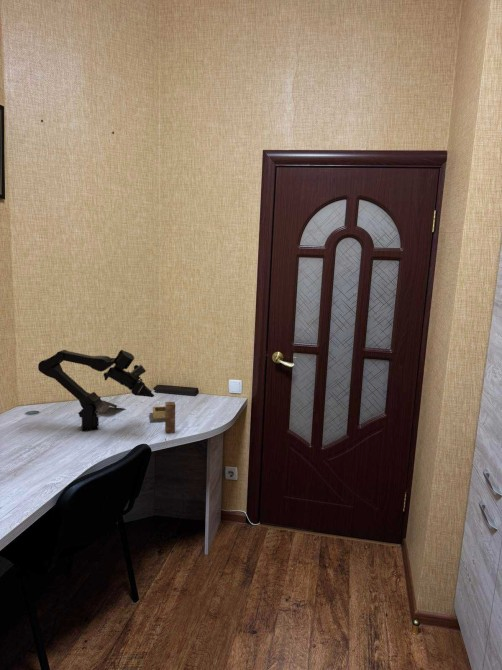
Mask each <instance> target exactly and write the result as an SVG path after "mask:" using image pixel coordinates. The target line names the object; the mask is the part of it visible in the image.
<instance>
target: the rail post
mask: <svg viewBox="0 0 502 670" xmlns="http://www.w3.org/2000/svg"><path fill="white" fill-rule="evenodd" d="M164 406H165V422H164V431H165V434H175V433H176V402H175V401H165V405H164Z"/></svg>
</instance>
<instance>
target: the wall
mask: <svg viewBox="0 0 502 670" xmlns="http://www.w3.org/2000/svg"><path fill="white" fill-rule="evenodd" d="M102 404H103V405H102V407H101V408H100V409H99V411H98V412H100V413H103V414H105V413H106V411H107V410H108V409H109V407H112V408H114V409H117V407H118V408H122V409H126V408H124V407H122V406H119V405H117V404H115V403H112V402H109V401H106V400H102Z"/></svg>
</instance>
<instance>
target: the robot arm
mask: <svg viewBox="0 0 502 670" xmlns="http://www.w3.org/2000/svg"><path fill="white" fill-rule="evenodd" d="M134 360H135V356H134V355H133V354H132V353H130V352H128V351H126V350H124V349H120V350H119V352H118V353H117V355H116V357H110V356H107V355H88V354H85V353H79V352H74V351H70V350H67V349H62V350H60V351H57V352H56V353H54V354H53V355H52V356H50V357H49V358H46V359H43V360H41V361H39V363H38V364H37V368H38V371H39V372H40V373H41V374H43V375H44V376H46V377H48V378H51V379H53V380H55V381H56V382H58V383H59V385H61V386H62V387H63V388H64V389H65V390H66V391H68V393H70V394H71V395H73V397H75V398H76V400H78V402H79V405H80V407H81V410H80V411H79V412H78V416H79V418H81V425H80V427H81V431H82V432H86V431H87V432H88V431H96V430H99V426H100V425H99V424H100V423H99V420H100V419H99V416H98V414H97V413H99V412H100V411H99V409H100V408H101V407H102V405H103V404H102V401H103V400H102V398H101V396H99V395H98V394H97V393H96V392H95V391H93V392H91V393H90V392H87V391H86V390H85V389H84V388H83V387H82V386H81V385H80V384H78V383H77V382H76V381H75V380H74V379H73V378H72V377H70V376H69V375H68V374H67V373H66V372H65V371H64V370H63V367H62V365H61V364H62V363H63V362H69V363H74V364H77V365H78V364H79V365H83V366H87V367H90V368H91V369H92V370H94V371H97V372H99V373H100V372H103V378H104V381H107V380H108V379H109V378H110V379H111V380H113V381H115V382H117V383H119V384H120V385H121V386H124V387H125V388H127V389H128V390H129V391H131V392H130V393H131V394H132V395H133V396H136V397H137V396H138V397H149V398H154V397H155V394H154V393H153V392H152V390H151V389H150V388H149V387H148V386H146V384H145V382H144V381H143V379H142V378H141V376H142V375H143V374H144V373H145V372H147V370H146V369H145V367H144V366H143V365H142V364H139V365H138V364H135V365H133V370H132V371H129V370H128V371H126V370H127V369H128V368H129V367H130V365H131V364H132V363H133V361H134ZM112 366H113V367H112ZM106 370H107V371H106ZM105 371H106V372H105Z"/></svg>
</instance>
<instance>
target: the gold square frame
mask: <svg viewBox="0 0 502 670" xmlns="http://www.w3.org/2000/svg"><path fill="white" fill-rule="evenodd" d="M149 423H165V405H164V406H163V405H162V406H152V412H149Z"/></svg>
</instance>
